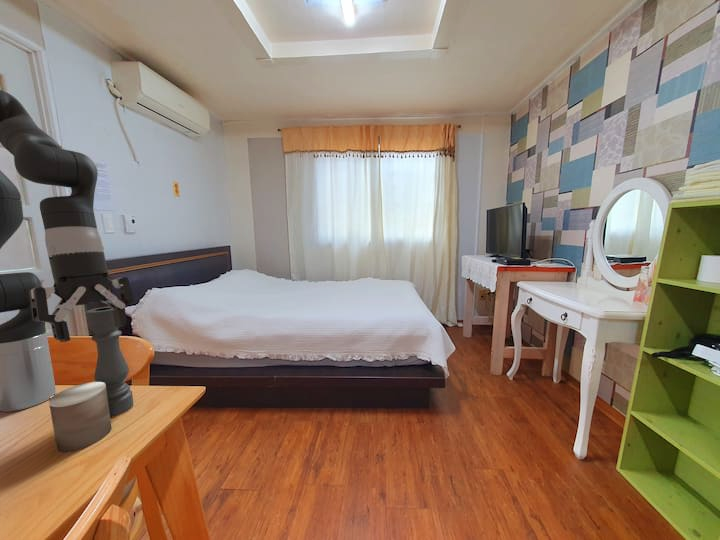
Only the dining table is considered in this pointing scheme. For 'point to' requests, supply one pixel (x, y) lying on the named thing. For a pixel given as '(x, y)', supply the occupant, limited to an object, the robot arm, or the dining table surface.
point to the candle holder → (110, 360)
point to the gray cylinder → (80, 416)
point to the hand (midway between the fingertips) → (94, 333)
